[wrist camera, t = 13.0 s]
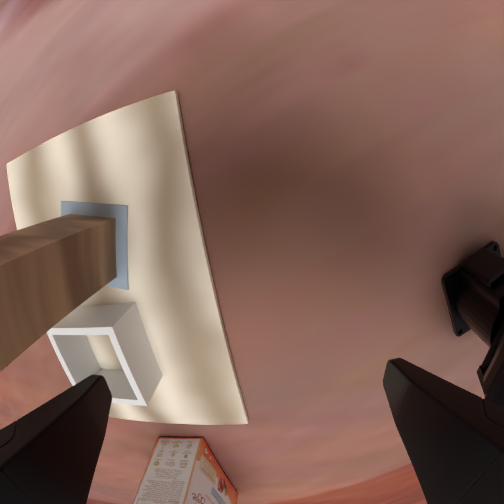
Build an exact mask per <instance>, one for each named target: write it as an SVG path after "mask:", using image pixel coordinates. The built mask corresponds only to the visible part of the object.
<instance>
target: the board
mask: <svg viewBox="0 0 504 504" xmlns="http://www.w3.org/2000/svg"><path fill="white" fill-rule="evenodd" d="M6 165H7V173H8V181H9V188H10V195H11V201H12V206H13V211H14V217H15V221H16V226H17V230H20V229H23V228H26V227H29V226H32V225H35V224H38V223H41V222H44V221H48V220H51V219H54V218H57V217H61V216H64V215H68V214H76V215H87V216H97V217H108V218H116V270H117V277H116V278H115V279H113V280H112V281H111V282H109V283H108V284H107V285H105V286H104V287H103V288H101V289H100V290H99V291H98V292H96V293H95V294H94V295H92V296H91V297H90V298H88V299H87V300H86V301H85V302H83V303H82V304H81V305H79V306H78V307H87V306H100V305H112V304H123V303H134V302H136V305H137V308H138V311H139V314H140V317H141V320H142V323H143V325H144V328H145V331H146V334H147V337H148V340H149V342H150V345H151V348H152V350H153V353H154V356H155V358H156V361H157V363H158V366H159V368H160V371H161V373H162V378H161V380H160V382H159V384H158V386H157V388H156V390H155V392H154V394H153V396H152V398H151V400H150V402H149V404H148V406H140V405H128V404H118V403H111V408H110V412H109V417H112V418H119V419H127V420H136V421H146V422H158V423H173V424H201V425H225V424H248V420H249V419H248V415H247V412H246V408H245V405H244V401H243V398H242V394H241V390H240V387H239V383H238V379H237V375H236V372H235V368H234V364H233V360H232V356H231V352H230V348H229V344H228V340H227V336H226V332H225V328H224V324H223V320H222V316H221V312H220V308H219V303H218V299H217V295H216V290H215V286H214V282H213V277H212V273H211V268H210V264H209V259H208V255H207V250H206V245H205V241H204V236H203V231H202V226H201V221H200V216H199V211H198V206H197V201H196V196H195V191H194V185H193V180H192V175H191V169H190V164H189V158H188V153H187V147H186V141H185V135H184V129H183V123H182V117H181V110H180V104H179V97H178V92H177V91H175V90H174V91H171V92H167V93H164V94H161V95H158V96H154V97H151V98H148V99H145V100H142V101H139V102H136V103H134V104H131V105H128V106H125V107H123V108H120V109H117V110H115V111H112V112H110V113H107V114H105V115H102V116H100V117H97V118H95V119H93V120H90V121H88V122H86V123H83V124H81V125H79V126H77V127H75V128H72V129H70V130H68V131H66V132H64V133H62V134H60V135H58V136H56V137H54V138H52V139H50V140H48V141H46V142H44V143H42V144H40V145H39V146H37V147H35V148H33V149H31V150H30V151H28V152H26V153H24V154H23V155H21V156H19V157H17V158H16V159H14V160H12V161H11V162H9V163H8V164H6ZM86 336H87V338H88V341H89V343H90V345H91V348H92V350H93V352H94V354H95V357H96V359H97V361H98V363H99V365H100V367H101V369H110V370H123V368H122V366H121V364H120V361H119V359H118V357H117V355H116V352H115V350H114V347H113V345H112V343H111V340H110V338H109V335H86Z"/></svg>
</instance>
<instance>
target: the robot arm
mask: <svg viewBox="0 0 504 504" xmlns="http://www.w3.org/2000/svg"><path fill="white" fill-rule="evenodd" d="M493 247H494V249H493ZM448 279H449V282H448V283H447V280H448ZM442 285H443V288H444V292H445V296H446V299H447V303H448V307H449V311H450V316H451V320H452V324H453V329H454V333H455V334H456V336H461V335H463V334H464V333H466V332H467V331H468V330H470V329H472V330H473V331H474V332H475V333H476V334H477V335H478V336H479V337H480V338H481V339H482V340H483V341H484V342H485V343H486V344H487V345H488V346H489V347H490V349H489V351H488V353H487V355H486V357H485V359H484V361H483V363H482V365H480V366H479V368H478V370H477V374H478V377H479V380H480V383H481V386H482V389H483V392H484V395H485V399H482V398H481V397H479V396H477V395H475V394H473V393H471V392H468V391H466V390H464V389H462V388H460V387H458V386H456V385H454V384H452V383H450V382H448V381H446V380H444V379H442V378H440V377H438V376H436V375H434V374H432V373H430V372H428V371H426V370H424V369H422V368H420V367H418V366H416V365H414V364H412V363H410V362H408V361H406V360H404V359H402V358H395V359H391V360H389V361H388V362H387V365H386V370H385V374H384V378H383V386H384V389H385V392H386V395H387V399H388V402H389V405H390V408H391V412H392V415H393V418H394V421H395V424H396V427H397V429H398V431H399V434H400V436H401V438H402V441H403V443H404V445H405V448H406V450H407V453H408V455H409V457H410V460H411V462H412V465H413V467H414V470H415V472H416V475H417V477H418V480H419V482H420V485H421V488H422V490H423V493H424V495H425V498H426V501H427V503H428V504H504V258H502V257H501V254H500V249H499V245H498V243H497V242H495V241H492V242H491V243H489V244H488V245H487V246H485V247H484V248H482V249H480V250H479V251H477V252H476V253H475V254H473V255H472V256H471V257H469V258H468V259H466V260H465V261H464V262H462V264H461V265H459V266H458V267H456V268H455V269H453V270H452V271H450V272H449V273H447V274H446V275H445V276H444V277H443V279H442ZM459 330H460V331H459ZM111 403H112V394H111V391H110V389H109V387H108V384H107V382H106V379H105V378H104V376H102V375H95V374H92V375H90V376H88V377H87V378H85V379H83V380H82V381H80V382H79V383H77V384H75V385H74V386H72V387H71V388H69V389H67V390H66V391H64V392H63V393H61V394H59V395H58V396H56V397H54V398H53V399H51V400H49V401H48V402H46V403H45V404H43V405H41V406H40V407H38V408H36V409H35V410H33V411H31V412H30V413H28V414H26V415H25V416H23V417H22V418H20V419H18V420H17V421H15V422H13V423H11V424H10V425H8V426H6V427H5V428H3V429H1V430H0V504H86V502H87V498H88V494H89V490H90V487H91V483H92V479H93V475H94V472H95V468H96V465H97V461H98V458H99V454H100V451H101V448H102V444H103V441H104V437H105V433H106V428H107V422H108V417H109V412H110V408H111Z"/></svg>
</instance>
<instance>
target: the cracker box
mask: <svg viewBox="0 0 504 504" xmlns="http://www.w3.org/2000/svg"><path fill="white" fill-rule="evenodd" d="M237 498H238V493H237V492H236V491H235V489H234V488H233V486H232V485H231V483H230V482H229V480H228V479H227V477H226V476H225V474H224V472H223V471H222V469H221V467H220V466H219V464H218V462H217V461H216V459H215V457H214V456H213V454H212V452H211V451H210V449H209V447H208V445H207V444H206V442H205V440H204V438H174V437H158V438H157V441H156V443H155V445H154V448H153V450H152V453H151V455H150V458H149V460H148V463H147V465H146V468H145V470H144V473H143V475H142V478H141V480H140V483H139V485H138V488H137V490H136V493H135V495H134V498H133V500H132V503H131V504H237Z"/></svg>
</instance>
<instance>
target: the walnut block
mask: <svg viewBox="0 0 504 504" xmlns="http://www.w3.org/2000/svg"><path fill="white" fill-rule="evenodd" d="M116 277H117V270H116V218H108V217H97V216H87V215H76V214H68V215H64V216H61V217H57V218H54V219H51V220H48V221H44V222H41V223H38V224H35V225H32V226H29V227H26V228H23V229H20V230H17V231H14V232H11V233H8V234H5V235H2V236H0V372H1V371H2V370H3V369H4V368H5V367H7V366H8V365H9V364H10V363H11V362H12V361H13V360H14V359H16V358H17V357H18V356H19V355H20V354H21V353H22V352H24V351H25V350H26V349H27V348H28V347H29V346H31V345H32V344H33V343H34V342H35V341H36V340H38V339H39V338H40V337H41V336H42V335H44V334H45V333H46V332H47V331H48V330H50V329H51V328H52V327H53V326H55V325H56V324H57V323H58V322H59V321H61V320H62V319H63V318H64V317H66V316H67V315H68V314H69V313H71V312H72V311H73V310H74V309H76V308H77V307H78V306H79V305H81V304H82V303H83V302H85V301H86V300H87V299H88V298H90V297H91V296H92V295H94V294H95V293H96V292H98V291H99V290H100V289H101V288H103V287H104V286H105V285H107V284H108V283H109V282H111V281H112V280H113V279H115V278H116Z"/></svg>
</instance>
